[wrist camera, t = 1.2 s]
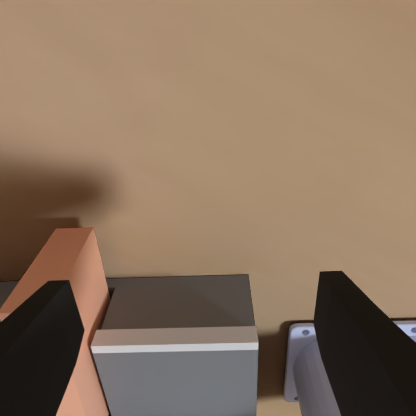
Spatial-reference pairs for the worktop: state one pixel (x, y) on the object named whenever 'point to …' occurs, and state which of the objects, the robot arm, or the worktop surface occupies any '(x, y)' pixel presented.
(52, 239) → the salmon pink slab
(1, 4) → the worktop surface
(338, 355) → the robot arm
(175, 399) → the dispenser
